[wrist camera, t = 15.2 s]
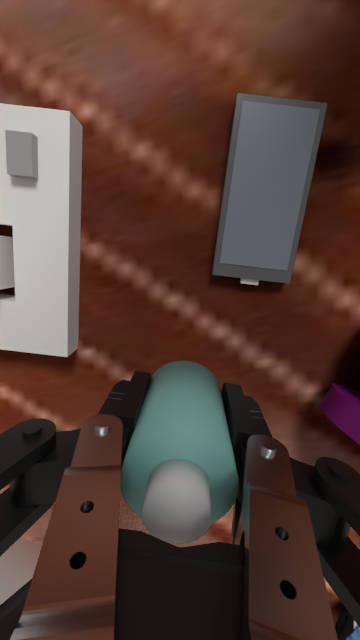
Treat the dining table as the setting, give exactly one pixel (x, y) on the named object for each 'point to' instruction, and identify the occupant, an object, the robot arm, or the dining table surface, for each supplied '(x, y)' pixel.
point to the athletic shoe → (347, 627)
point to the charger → (6, 262)
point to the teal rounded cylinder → (180, 455)
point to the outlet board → (41, 228)
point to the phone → (266, 186)
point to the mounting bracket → (343, 409)
